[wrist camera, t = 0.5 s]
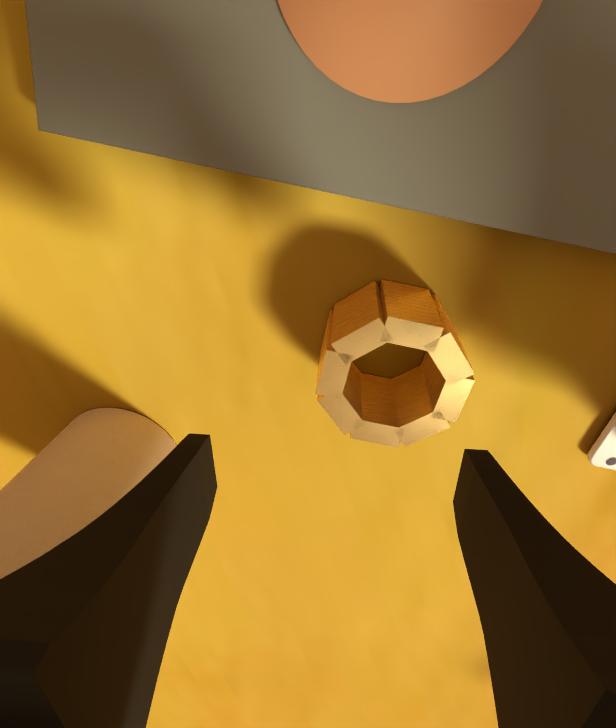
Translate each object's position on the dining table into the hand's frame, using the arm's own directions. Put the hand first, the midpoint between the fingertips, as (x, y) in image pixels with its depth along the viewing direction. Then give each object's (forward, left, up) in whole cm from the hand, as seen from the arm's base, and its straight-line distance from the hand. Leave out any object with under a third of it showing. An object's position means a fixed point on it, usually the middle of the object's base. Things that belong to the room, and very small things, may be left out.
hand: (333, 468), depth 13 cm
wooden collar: (-2, 0, -9) cm, 9 cm away
